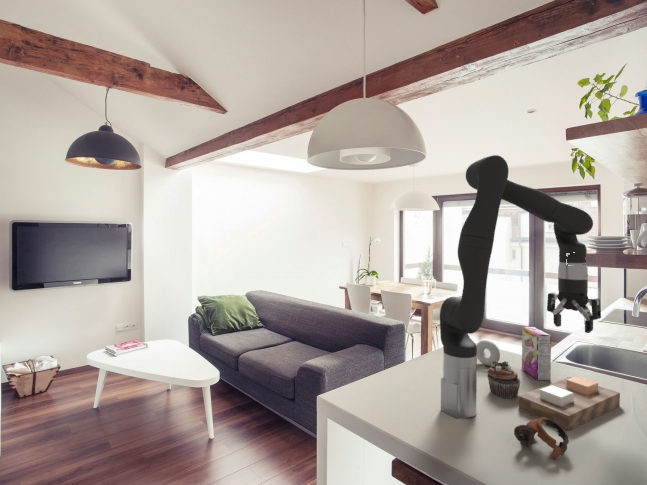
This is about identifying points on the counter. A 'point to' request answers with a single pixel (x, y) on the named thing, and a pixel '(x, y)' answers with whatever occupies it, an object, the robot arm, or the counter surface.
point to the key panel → (570, 405)
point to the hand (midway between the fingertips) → (572, 329)
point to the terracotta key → (582, 385)
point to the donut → (493, 351)
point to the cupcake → (503, 380)
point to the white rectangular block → (556, 395)
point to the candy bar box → (536, 353)
